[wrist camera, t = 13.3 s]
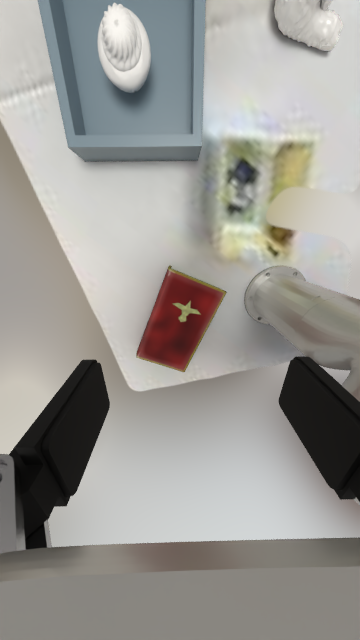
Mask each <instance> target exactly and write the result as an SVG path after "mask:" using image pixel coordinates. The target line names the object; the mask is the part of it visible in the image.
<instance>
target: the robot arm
mask: <svg viewBox="0 0 360 640" xmlns="http://www.w3.org/2000/svg"><path fill="white" fill-rule="evenodd" d="M266 273H267V274H266ZM265 274H266V275H265ZM249 296H250V297H249ZM248 297H249V298H248ZM245 306H246V309H247V311H248V313H249V314H250V316H251V317H252V318H253V319H254V320H256V321H258V322H260V323H263V324H271V325H272V326H273V327H274V328H275V329H276V330H277V331H278V332H279V333H280V334H282V335H283V336H284V337H285V338H286V339H287V340H288V341H289V342H290V343H291V344H292V345H293V346H295V347H296V348H297V349H298V350H299V351H300V352H301V353H302V354H303V355H305V356H306V357H295V358H294V359H293V360H291V361H290V364H289V367H288V371H287V374H286V377H285V380H284V384H283V387H282V390H281V394H280V397H279V405H280V407H281V409H282V410H283V412H284V414H285V415H286V417H287V419H288V420H289V422H290V423H291V425H292V427H293V428H294V430H295V432H296V433H297V435H298V437H299V438H300V440H301V442H302V443H303V445H304V446H305V448H306V449H307V451H308V453H309V455H310V456H311V458H312V459H313V461H314V463H315V464H316V466H317V468H318V469H319V471H320V473H321V474H322V476H323V477H324V479H325V481H326V482H327V484H328V485H329V486H330V487H331V488H332V489H334V490H335V492H336V493H337V495H338V497H339V498H340V499H353V500H354V501H355V502H357V503H358V504H359V505H360V300H359V299H356V298H353V297H349V296H347V295H344V294H341V293H338V292H335V291H332V290H329V289H326V288H323V287H320V286H317V285H314V284H311V283H309V282H306V280H305V278H304V277H303V275H302V274H301V273H300V272H299V271H298V270H296V269H294V268H291V267H287V266H275V267H271V268H268V269H266V270H264V271H263V272H261V273H260V274H258V275H257V276H256V277H255V278H254V279H253V280H252V282H251V283H250V285H249V286H248V289H247V291H246V295H245ZM319 365H321V366H323V367H327V368H332V369H339V370H351V372H350V374H349V376H348V377H347V379H346V380H345V381H344V383H343V384H342V385H340V384H339V383H338V382H337V381H336V380H335V379H334V378H333V377H332V376H330V375H329V374H328V373H327V372H326V371H325V370H324V369H323V368H321V367H320V366H319ZM109 405H110V402H109V398H108V393H107V389H106V385H105V381H104V376H103V372H102V368H101V364H100V363H97V361H96V360H82V361H81V362H80V364H79V365H78V366H77V367H76V369H75V370H74V371H73V373H72V374H71V375H70V377H69V378H68V379H67V380H66V382H65V383H64V385H63V386H62V387H61V388H60V389H59V391H58V392H57V393H56V394H55V396H54V397H53V398H52V400H51V401H50V402H49V403H48V405H47V406H46V407H45V409H44V410H43V411H42V413H41V414H40V415H39V417H38V418H37V419H36V420H35V422H34V423H33V424H32V425H31V427H30V428H29V429H28V431H27V432H26V433H25V435H24V436H23V437H22V438H21V440H20V441H19V442H18V444H17V445H16V446H15V447H14V449H13V450H12V451H11V453H10V454H9V455H8V454H0V640H360V538H321V539H276V540H240V541H203V542H170V543H142V544H141V543H140V544H111V545H87V546H69V547H52V545H51V539H50V531H49V525H48V518H49V516H50V514H51V512H52V510H53V508H54V506H67V504H68V501H69V499H70V496H73V495H74V494H75V493H76V491H77V489H78V486H79V484H80V481H81V479H82V476H83V474H84V471H85V469H86V466H87V463H88V461H89V458H90V456H91V453H92V451H93V448H94V446H95V443H96V441H97V438H98V436H99V433H100V430H101V428H102V426H103V423H104V420H105V418H106V415H107V413H108V410H109Z"/></svg>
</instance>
